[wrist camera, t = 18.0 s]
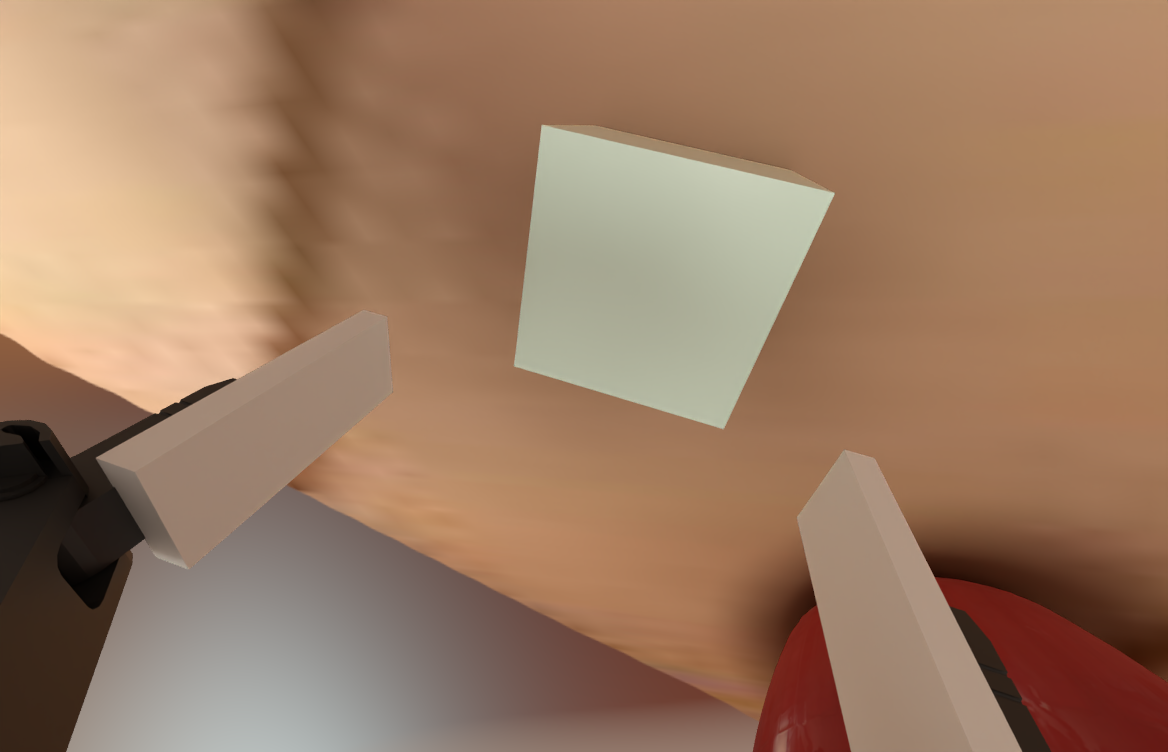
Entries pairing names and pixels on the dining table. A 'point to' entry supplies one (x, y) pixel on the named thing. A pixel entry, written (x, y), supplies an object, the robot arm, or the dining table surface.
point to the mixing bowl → (1034, 663)
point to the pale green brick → (658, 267)
